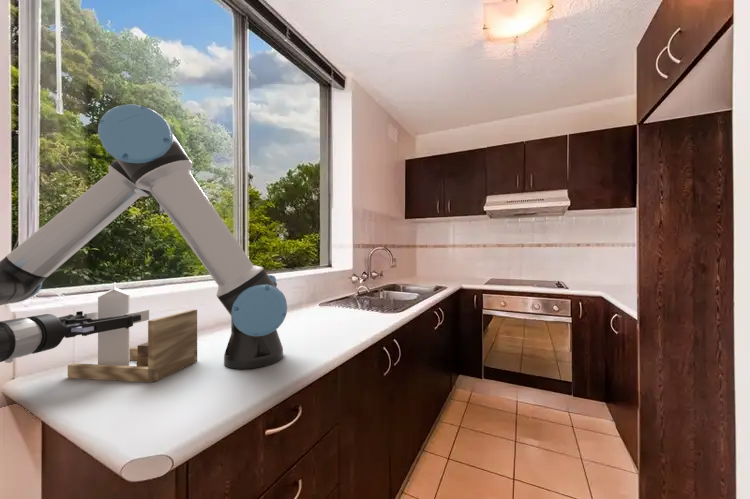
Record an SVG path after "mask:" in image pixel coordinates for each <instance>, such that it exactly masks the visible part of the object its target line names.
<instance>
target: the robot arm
mask: <svg viewBox="0 0 750 499" xmlns="http://www.w3.org/2000/svg"><path fill="white" fill-rule="evenodd" d="M97 132H98V133H97V134H98V139H99V141H100V143H101V145H102V147H103V149H104V150H105V151H106V152H107V153H108V154H109V155H111V157H113V158H115V159H114V161H113V162H111V163H110V164H109V165H108V173H106V175H104V176H103V177H102V178H101V179H99V180H98V181H97V182H96V183H95V184H93V185H92V186H91V187H89V188H88V189H87V190H86V191H85V192H83V193H82V194H81V195H79V197H77V198H75V200H73V201H72V202H71V203H70V204H69V205H67V206H66V207H65V208H63V209H62V210H61V211H60V212H59V213H57V214H56V215H55V216H54V217H53V218H51V219H50V220H48V222H46V223H45V224H44V225H43V226H41V227H40V228H39V229H38V230H35V232H34V233H33V234H31V236H29V237H27V238H26V239H25V240H24V241H23V242H22V243H20V244H19V245H18V246H17V247H15V248H14V249H13V250H12V251H11V252H9V253H8V254H7V255H6V256H5V257H4V258H3V259H1V260H0V306H3V305H8V304H9V305H10V304H15V303H20V302H23V301H25V300H27V299H29V298H32V297H34V296H35V295H37V294H38V293H39V292H40V290H41V289H42V286H43V284H44V283H43V282H44V281H45V280H46V279H47V278H48V277H49V276H50V275H52V274H53V273H54V272H56V270H57V269H59V268H60V267H61V266H62V265H64V263H66V262H67V261H68V260H69V259H71V258H72V256H74V255H75V254H76V253H78V251H79V250H81V248H83V247H84V246H85V245H87V244H88V243H89V242H90V241H91V240H92V239H93V238H94V237H96V236H97V235H98V234H99V233H101V231H103V230H104V229H106V227H107V226H108V225H109V224H111V223H112V222H113V221H114V220H115V219H117V218H118V217H119V216H120V215H121V214H122V213H123V212H124V211H126V210H127V209H128V208H129V207H130V206H131V205H133V203H135V202H136V201H137V200H139V198H140V197H141V198H142V197H149V196H151V195H152V196H153V197H154V199H155V200H156V202H157V204H159V206H160V207H161V208H162V210H163V212H164V213H165V215H167V217H168V218H169V220H170V221H171V223H173V225H174V226H175V228H176V229H177V231H178V232H179V233H180V235H181V237H182V238H183V239H184V240H185V242H186V244H188V246H189V247H190V249H191V250H192V252H193V253H194V255H196V257H197V258H198V259H199V261H200V262H201V264H202V265H203V267H204V269H206V271H207V272H208V274H209V275H210V276H211V277H212V279H213V281H215V284H217V287H218V288H217V292H216V297H217V299H218V300H219V301H220V303H221V304H222V306H223V307H224V308H225V310H226V311H227V312H228V314H229V315H230V317H231V318H230V330H231V332H230V336H229V339H228V343H227V346H226V348H225V351H224V356H223V363H224V366H225V367H228V368H230V369H237V370H248V369H250V370H251V369H255V368H256V369H257V368H262V367H266V366H270V365H273V364H275V363H277V362H279V361H281V360H282V358H284V348H283V344H282V341H281V338H280V335H279V333H278V331H277V329H279V327H280V326H282V324H283V323H284V321H285V319H286V316H287V313H288V303H287V298H286V296H285V295H284V293H283V292H282V290H280V289H279V288H278V287H277V284H278V283H277V278H276V276H275V275H271V274H268V273H267V271H266V270H265V269H264V267H263V266H259V265H255V264H253V263H252V261H251V260H250V258H249V257H248V255H247V254H246V252H245V251H244V250H243V248H242V247H241V244H240V243H239V242H238V240H237V239H236V238H235V237H234V235H233V233H232V232H231V230H230V229H229V227H228V226H227V225H226V223H225V222H224V221H223V219H222V217H221V216H220V214H219V213H218V211H217V210H216V209H215V207H214V205H213V204H212V202H211V201H210V199H209V198H208V197H207V195H206V194H205V193H204V191H203V189H202V188H201V186H200V185H199V183H198V182H197V180H196V179H195V178H194V176H193V174H192V170H193V166H194V165H193V162H192V160H191V159H190V157H189V156H188V155H187V152H186V151H185V150H184V148H183V147H182V145H181V144H180V142H179V141H178V140H177V138H176V137H175V135H174V133H173V129H172V126H171V125H170V124H169V122H168V121H167V120H166V119H165V118H164V117H163V116H162V115H161V114H160V113H158V111H157V112H156V111H155V110H153V109H151V108H149V107H146V106H143V105H140V104H130V103H129V104H121V105H117V106H114V107H112V108H110V109H109V110H108V111H106V112H105V113H104V114H103V115H102V117H101V118H100V120H99V123H98V127H97ZM149 320H150V309H143V310H139V311H135V312H133V311H132V312H130V313H128V314H124V316H116V317H109V318H101V319H98V310H96V311H91V312H90V311H89V312H87V313H84V312H83V311H82V310H81V311H76V313H75V314H68V315H64V316H60V317H57V315H54V314H52V313H45V314H38V315H32V316H26V317H19V318H18V317H17V318H13V319H7V320H0V363H1V362H5V364H9V363H10V364H11V363H12V362H13V361H14V359H16V358H22V357H26V356H29V355H31V354H33V355H34V354H38V353H42V352H45V351H48V350H49V351H50V350H53V349H54V348H57V347H58V346H60V344H61V343H62V341H63V340H64V338H65V339H69V338H75V337H77V336H82V337H87V336H89V335H93V334H94V335H95V334H98V333H99V332H104V331H110V330H115V329H120V328H126V329H128V328H129V327H130V328H131V327H133V326H134V324H137V323H138V324H139V323H141V322H145V321H149Z"/></svg>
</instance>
